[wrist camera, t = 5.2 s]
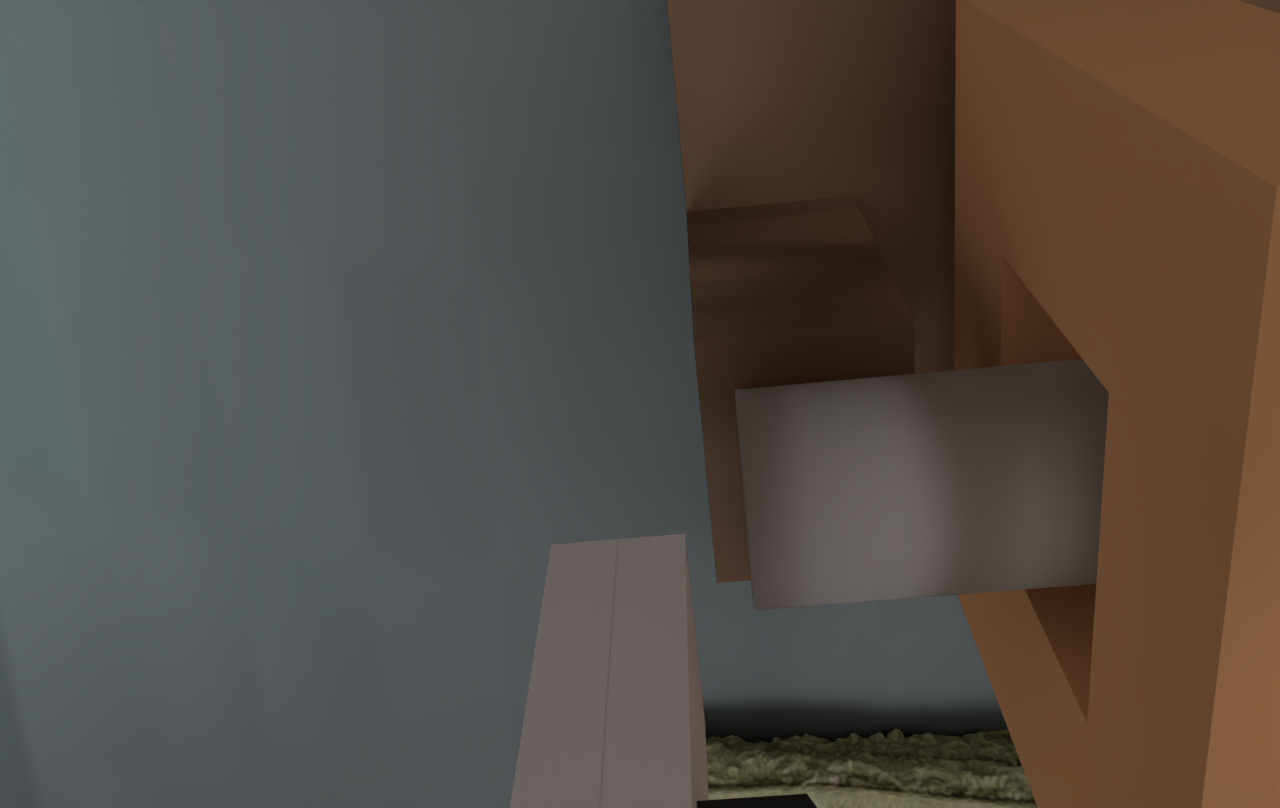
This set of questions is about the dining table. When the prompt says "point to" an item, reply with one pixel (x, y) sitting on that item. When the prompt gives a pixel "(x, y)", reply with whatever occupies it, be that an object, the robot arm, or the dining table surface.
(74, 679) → the dining table surface
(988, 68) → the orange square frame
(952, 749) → the washcloth
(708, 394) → the rod stand
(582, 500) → the dining table surface
